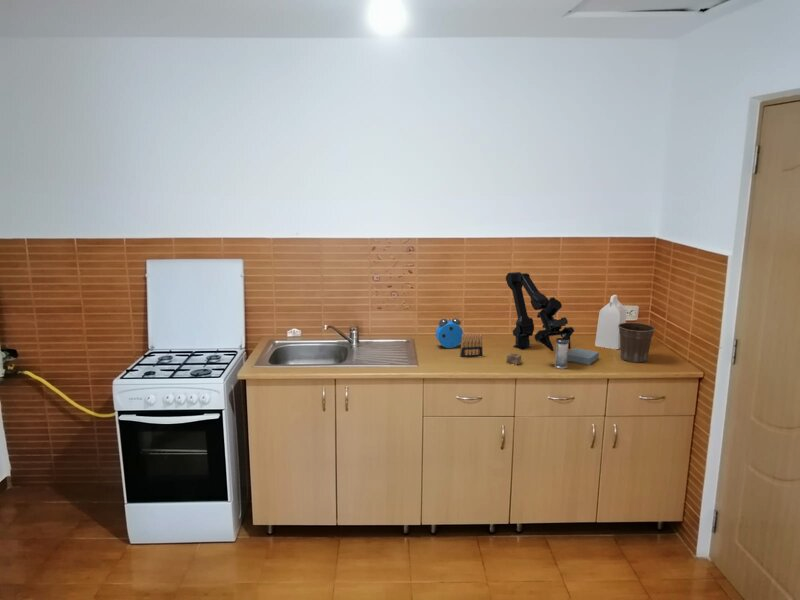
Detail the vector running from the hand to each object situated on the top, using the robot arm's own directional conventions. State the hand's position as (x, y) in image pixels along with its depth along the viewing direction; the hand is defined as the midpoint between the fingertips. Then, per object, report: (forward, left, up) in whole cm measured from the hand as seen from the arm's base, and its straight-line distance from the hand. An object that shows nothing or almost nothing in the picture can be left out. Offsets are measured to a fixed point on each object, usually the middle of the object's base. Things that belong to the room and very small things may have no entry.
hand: (561, 349), depth 276 cm
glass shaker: (0, 0, -8) cm, 8 cm away
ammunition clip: (-36, -22, -8) cm, 43 cm away
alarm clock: (-54, -20, -8) cm, 58 cm away
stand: (-1, +17, -8) cm, 19 cm away
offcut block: (-17, -13, -8) cm, 23 cm away
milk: (-6, +48, -8) cm, 49 cm away
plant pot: (+14, +37, -8) cm, 40 cm away
